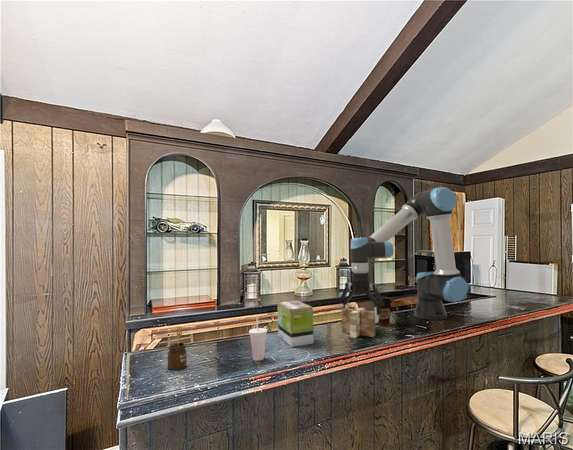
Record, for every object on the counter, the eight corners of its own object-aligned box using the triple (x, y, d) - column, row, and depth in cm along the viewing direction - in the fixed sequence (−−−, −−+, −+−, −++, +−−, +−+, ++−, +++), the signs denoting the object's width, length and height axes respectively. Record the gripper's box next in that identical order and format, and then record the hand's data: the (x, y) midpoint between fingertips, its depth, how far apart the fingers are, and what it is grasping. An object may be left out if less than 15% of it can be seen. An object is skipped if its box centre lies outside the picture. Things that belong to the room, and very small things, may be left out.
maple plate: (361, 329, 144) (360, 307, 144) (366, 330, 142) (365, 307, 143) (350, 337, 133) (349, 312, 133) (355, 338, 131) (355, 313, 132)
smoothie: (262, 354, 115) (261, 314, 116) (271, 359, 109) (270, 318, 110) (246, 357, 111) (245, 317, 112) (254, 363, 106) (253, 320, 107)
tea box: (277, 337, 135) (276, 301, 136) (298, 334, 139) (298, 299, 140) (291, 347, 122) (290, 308, 122) (314, 343, 125) (313, 305, 126)
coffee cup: (393, 328, 145) (392, 299, 146) (374, 327, 147) (373, 298, 148) (391, 323, 154) (390, 295, 155) (373, 322, 156) (372, 295, 156)
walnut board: (375, 335, 135) (374, 311, 135) (373, 336, 133) (372, 312, 133) (344, 330, 142) (343, 308, 143) (342, 332, 140) (341, 309, 141)
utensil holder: (165, 370, 102) (165, 332, 102) (171, 363, 108) (171, 327, 109) (183, 369, 102) (183, 331, 103) (188, 362, 108) (188, 326, 109)
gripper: (331, 272, 146) (332, 319, 145) (385, 274, 133) (387, 325, 131) (338, 270, 153) (339, 315, 151) (390, 272, 139) (392, 321, 138)
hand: (361, 320), depth 141 cm, fingers open, 13 cm apart
